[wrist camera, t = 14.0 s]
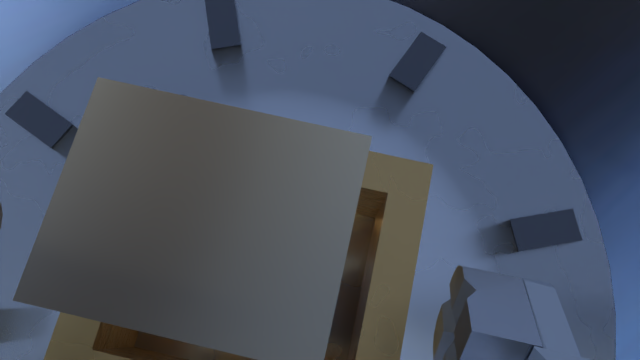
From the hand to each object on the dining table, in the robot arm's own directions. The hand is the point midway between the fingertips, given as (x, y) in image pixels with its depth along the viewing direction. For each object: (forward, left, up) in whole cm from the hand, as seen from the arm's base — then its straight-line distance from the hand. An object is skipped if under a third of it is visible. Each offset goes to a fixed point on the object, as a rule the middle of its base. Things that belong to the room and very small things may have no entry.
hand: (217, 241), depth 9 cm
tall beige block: (0, 0, -7) cm, 7 cm away
